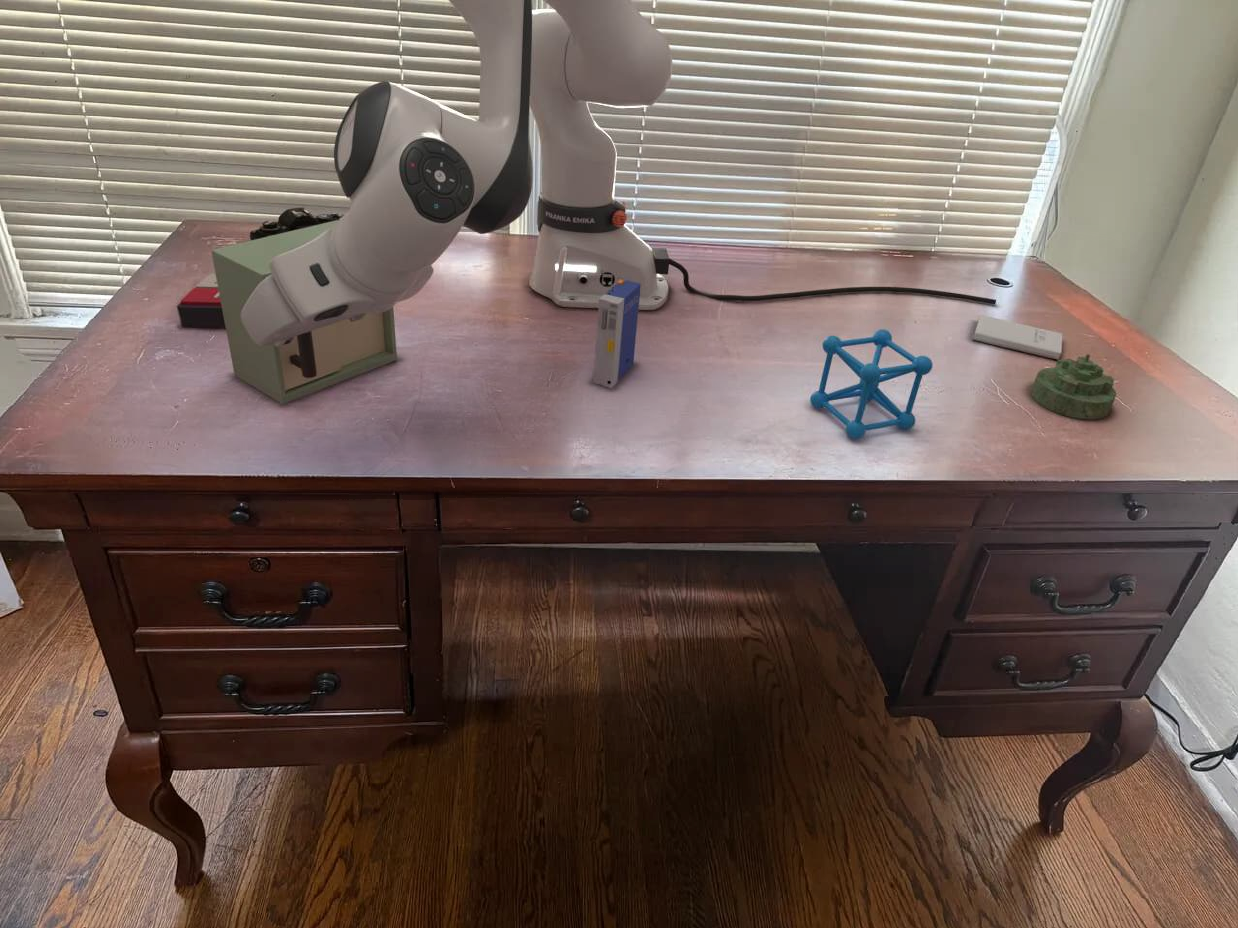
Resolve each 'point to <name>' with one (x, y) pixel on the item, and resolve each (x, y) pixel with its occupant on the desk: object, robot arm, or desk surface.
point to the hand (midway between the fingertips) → (316, 326)
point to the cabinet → (261, 366)
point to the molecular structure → (870, 382)
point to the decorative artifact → (1075, 389)
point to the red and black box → (202, 305)
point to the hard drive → (1018, 337)
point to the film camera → (292, 222)
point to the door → (310, 356)
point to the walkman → (616, 332)
